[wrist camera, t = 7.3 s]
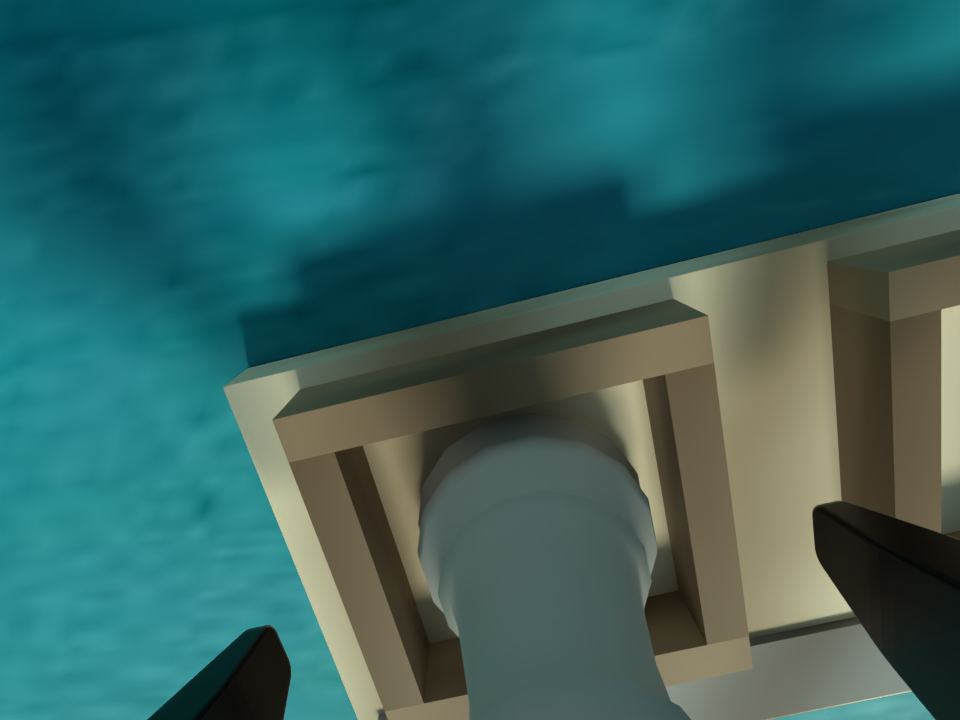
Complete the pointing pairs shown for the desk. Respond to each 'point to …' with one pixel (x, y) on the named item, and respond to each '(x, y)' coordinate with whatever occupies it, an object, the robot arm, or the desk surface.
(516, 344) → the board
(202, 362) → the desk surface
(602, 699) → the rook chess piece
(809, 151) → the desk surface
